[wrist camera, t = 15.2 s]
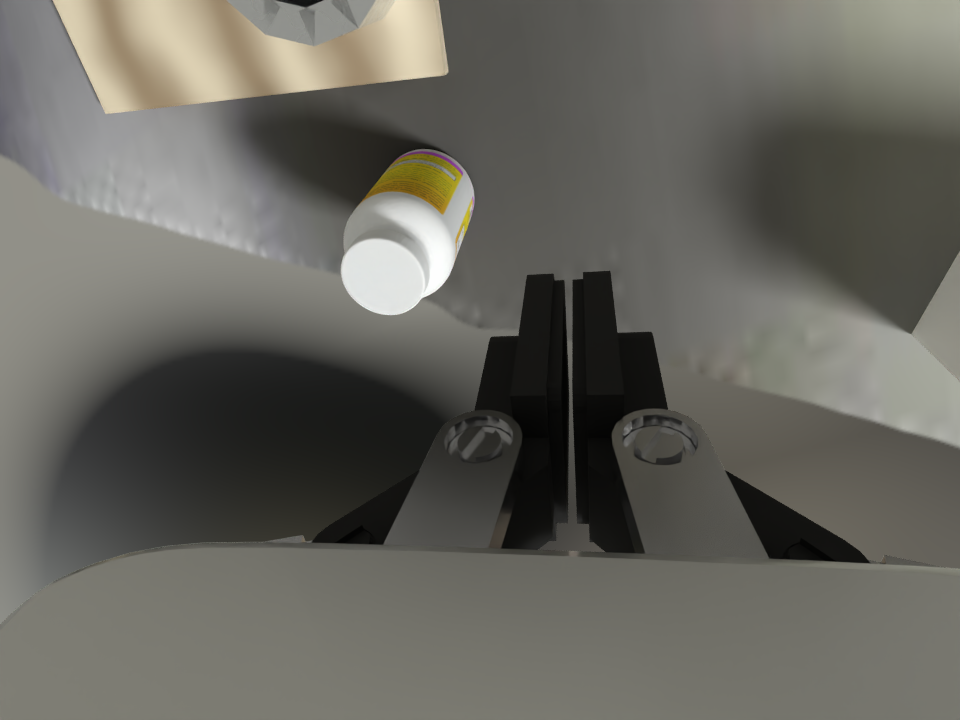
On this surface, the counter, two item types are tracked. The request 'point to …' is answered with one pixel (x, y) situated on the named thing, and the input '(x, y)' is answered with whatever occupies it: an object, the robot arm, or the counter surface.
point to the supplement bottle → (407, 232)
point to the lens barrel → (311, 17)
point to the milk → (943, 322)
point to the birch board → (237, 52)
